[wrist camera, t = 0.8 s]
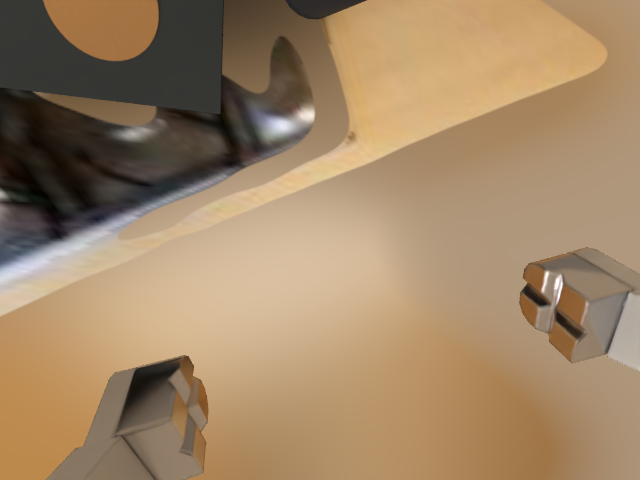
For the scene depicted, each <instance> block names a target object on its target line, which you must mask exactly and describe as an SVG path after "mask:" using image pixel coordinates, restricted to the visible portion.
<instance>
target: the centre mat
mask: <svg viewBox="0 0 640 480" xmlns="http://www.w3.org/2000/svg"><path fill="white" fill-rule="evenodd" d="M223 8H224V0H0V87H2V88H11V89H19V90H27V91H35V92H43V93H53V94H60V95H69V96H76V97H84V98H92V99H101V100H109V101H117V102H125V103H134V104H142V105H150V106H158V107H166V108H174V109H182V110H191V111H199V112H207V113H215V114H221V86H222V47H223Z"/></svg>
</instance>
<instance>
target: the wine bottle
mask: <svg viewBox="0 0 640 480" xmlns="http://www.w3.org/2000/svg"><path fill="white" fill-rule="evenodd" d="M364 1H366V0H286V2H287V3H288V5H289V7H290V8H291V9H293V10H294V11H295V12H296V13H297V14H298V15H300V16H303V17H305V18H307V19H320V18H323V17H326V16H329V15H331V14H334V13H336V12H339V11H341V10H344V9H346V8H349V7H351V6H354V5H356V4H359V3H361V2H364Z"/></svg>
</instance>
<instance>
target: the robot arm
mask: <svg viewBox="0 0 640 480" xmlns="http://www.w3.org/2000/svg"><path fill="white" fill-rule="evenodd" d="M523 278H524V280H525V281H526V282H527V285H526V286H525V287H524V289H523V290H522V291H521V292H520V302H519V303H520V306H521V310H522V313H523V315H524V316H525V318H526V319H527V321H528V322H529V323H530V324H531V325H532V326H533V327H534V328H535V329H537V330H540V331H543V332H545V333H548V335H549V342H550V343H551V344H552V345H553V346H554V347H555V348H556V349H557V350H558V351H559V352H561V354H563V355H564V356H565V357H566V358H567V359H568V360H569V361H570V362H571V363H576V362H580V361H583V360H587V359H591V358H594V357H598V356H602V355H606V354H607V357H610V358H612V359H614V360H616V361H618V362H620V363H622V364H624V365H626V366H629V367H631V368H633V369H635V370H637V371H639V372H640V274H639V273H637V272H635V271H633V270H632V269H630V268H628V267H626V266H625V265H623V264H621V263H619V262H618V261H616V260H614V259H612V258H611V257H609V256H607V255H605V254H604V253H602V252H600V251H598V250H596V249H593V248H588V247H586V248H583V249H579V250H575V251H572V252H568V253H567V254H562V255H558V256H555V257H551V258H547V259H544V260H540V261H536V262H533V263H529V264H528V265H527V266H526V268H525V269H524V274H523ZM193 371H194V365H193V364H192V362H191V360H190V358H189V356H185V355H184V356H179V357H175V358H171V359H168V360H163V361H159V362H155V363H151V364H146V365H142V366H139V367H136V368H132V369H128V370H123V371H119V372H115V373H114V374H113V375H112V376H111V377H110V379H109V380H108V383H107V386H106V388H105V391H104V394H103V396H102V399H101V401H100V404H99V406H98V409H97V412H96V414H95V417H94V419H93V422H92V424H91V427H90V430H89V432H88V435H87V437H86V440H85V443H84V445H83V446H82V447H79V448H76V449H74V450H73V452H71V453H70V455H69V456H68V457H67V458H66V459H65V460H64V461H63V462H62V463H61V464H60V465H59V466H58V467H57V468H56V469H55V471H53V473H52V474H51V475H50V476H49V477H48V478H47V479H46V480H186V479H189V478H192V477H194V476H198V475H201V474H203V473H204V461H205V450H206V441H205V439H204V437H203V435H202V433H201V431H202V430H203V428H204V427H205V425H206V424H207V422H208V403H207V395H206V392H205V388H204V386H203V384H202V381H201V380H200V379H198V378H196V377H194V376H193Z"/></svg>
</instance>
